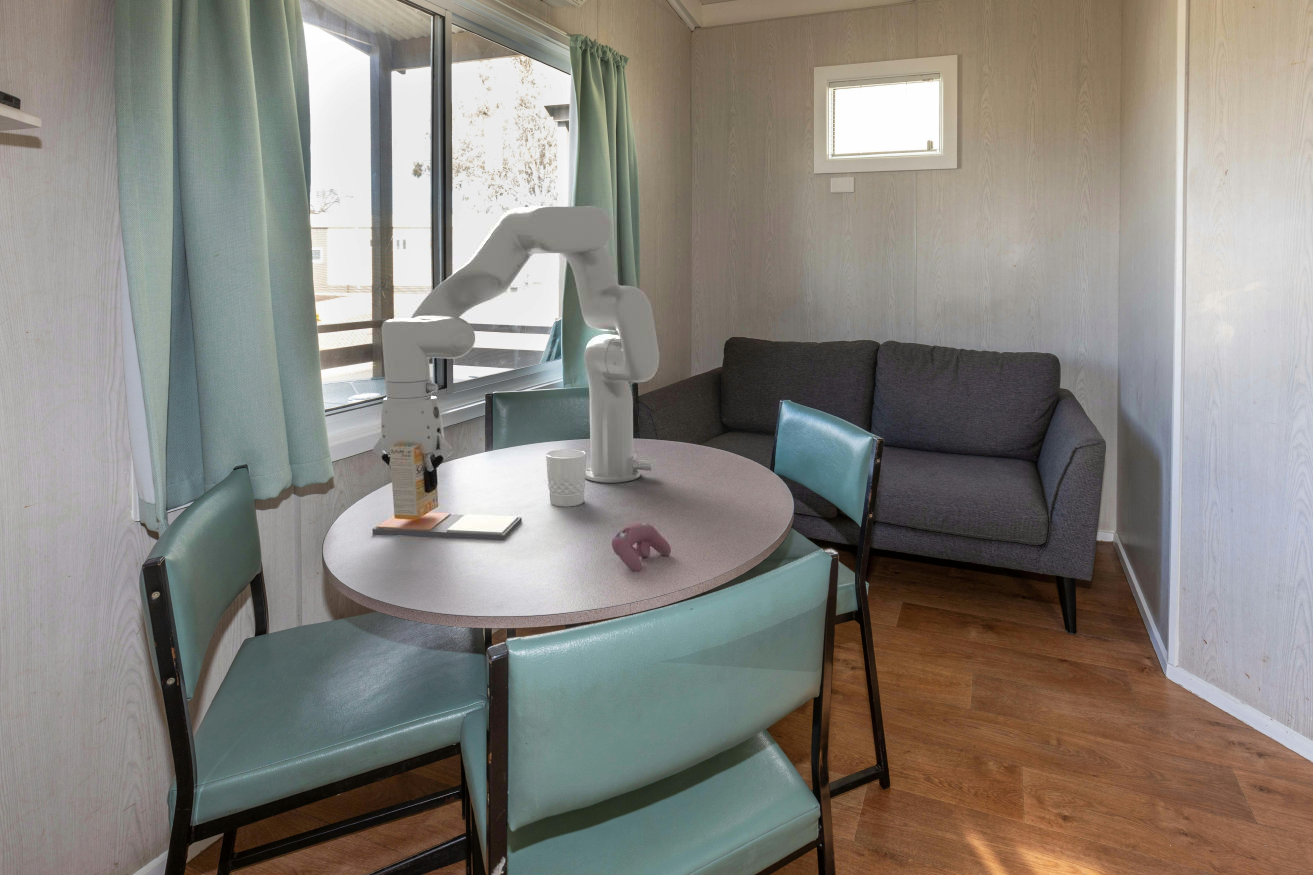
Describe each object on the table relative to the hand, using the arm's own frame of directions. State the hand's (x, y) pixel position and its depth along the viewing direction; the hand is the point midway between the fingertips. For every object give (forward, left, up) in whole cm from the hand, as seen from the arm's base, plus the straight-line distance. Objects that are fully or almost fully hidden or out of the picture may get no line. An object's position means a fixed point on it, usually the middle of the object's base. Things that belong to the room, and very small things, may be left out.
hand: (415, 489), depth 143 cm
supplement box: (0, 0, -5) cm, 5 cm away
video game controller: (-43, +11, -7) cm, 45 cm away
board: (-6, 0, -7) cm, 9 cm away
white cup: (-23, -19, -7) cm, 31 cm away
